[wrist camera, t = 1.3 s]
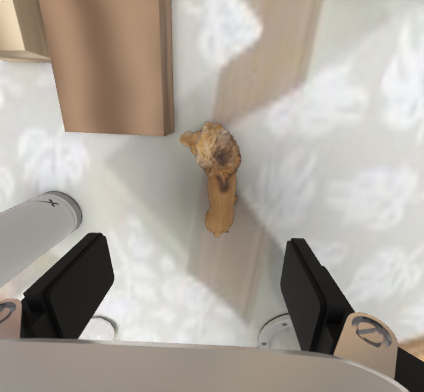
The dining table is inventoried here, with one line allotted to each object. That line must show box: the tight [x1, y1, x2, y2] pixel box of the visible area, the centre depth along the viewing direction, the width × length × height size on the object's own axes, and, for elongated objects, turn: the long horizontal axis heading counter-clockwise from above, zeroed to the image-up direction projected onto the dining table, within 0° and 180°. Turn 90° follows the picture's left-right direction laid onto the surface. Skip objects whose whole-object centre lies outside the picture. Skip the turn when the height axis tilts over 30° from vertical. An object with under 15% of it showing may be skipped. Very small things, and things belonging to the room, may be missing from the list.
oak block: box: [0, 0, 51, 63], centre depth 20 cm, size 6×6×5 cm
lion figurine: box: [180, 122, 241, 237], centre depth 23 cm, size 15×5×9 cm, turn 10°
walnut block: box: [39, 0, 174, 136], centre depth 21 cm, size 10×16×5 cm, turn 178°
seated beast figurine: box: [78, 317, 115, 341], centre depth 33 cm, size 10×9×12 cm
